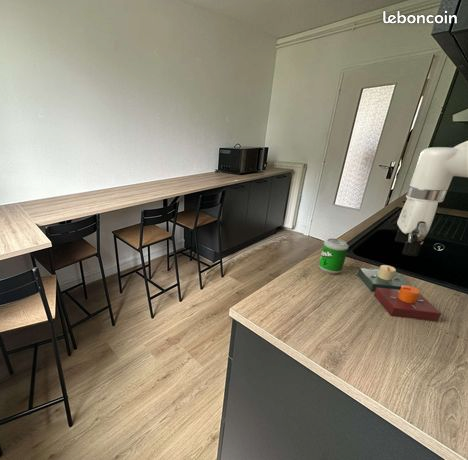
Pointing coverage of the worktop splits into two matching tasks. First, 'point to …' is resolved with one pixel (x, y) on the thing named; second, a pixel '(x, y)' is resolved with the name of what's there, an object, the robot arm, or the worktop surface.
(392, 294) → the handle plate
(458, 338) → the worktop surface
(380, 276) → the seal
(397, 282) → the handle plate
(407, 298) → the seal
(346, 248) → the soda can
